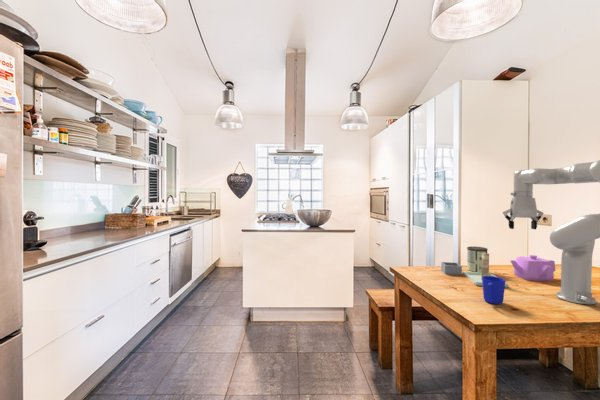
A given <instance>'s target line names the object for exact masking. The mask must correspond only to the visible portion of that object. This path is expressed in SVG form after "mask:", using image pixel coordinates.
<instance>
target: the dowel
mask: <svg viewBox="0 0 600 400" xmlns="http://www.w3.org/2000/svg"><path fill="white" fill-rule="evenodd" d="M489 273H490V253H488V252H487V253H482V275H481V280H482V277H483V276H489Z"/></svg>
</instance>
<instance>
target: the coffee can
mask: <svg viewBox="0 0 600 400" xmlns="http://www.w3.org/2000/svg"><path fill="white" fill-rule="evenodd" d="M466 249H467V250H466V251H467V252H466V254H467V256H466V257H467V258H466V259H467V260H466V261H467V265H466V266H467V272H480V273H482V253H488V251H489V250H488V247H484V246H483V247H482V246H467V247H466Z"/></svg>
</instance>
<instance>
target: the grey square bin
mask: <svg viewBox="0 0 600 400" xmlns="http://www.w3.org/2000/svg"><path fill="white" fill-rule="evenodd" d="M440 262H441V263H440V270H441V272H442V273H444V275H450V276H451V275H452V276H463V266H462V265H461V264H459V263H458V262H448V261H440Z"/></svg>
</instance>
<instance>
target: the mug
mask: <svg viewBox="0 0 600 400" xmlns="http://www.w3.org/2000/svg"><path fill="white" fill-rule="evenodd" d="M505 282H506V279H504V277H503V278H502V277H498V276H496V277H494V276H483V277H482V284H483V286H482V294H483V301H485V302H487V303H489V304H493V305H500V304H501V305H502V304H503V302H504V296H505Z"/></svg>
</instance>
